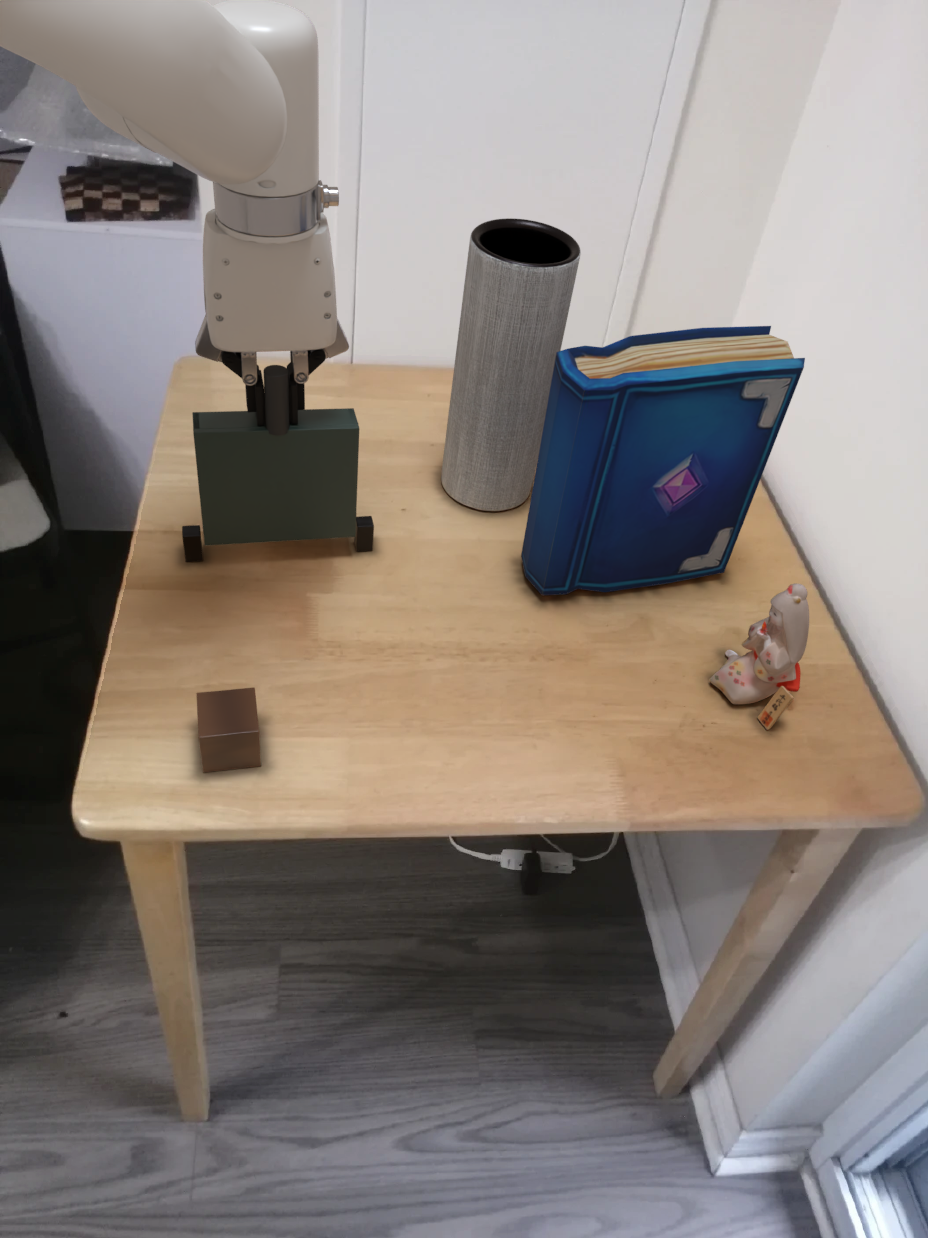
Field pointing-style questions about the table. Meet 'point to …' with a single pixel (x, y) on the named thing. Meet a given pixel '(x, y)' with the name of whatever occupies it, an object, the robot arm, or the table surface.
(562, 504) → the book
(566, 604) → the table surface
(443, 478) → the planter
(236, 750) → the block
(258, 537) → the dustpan
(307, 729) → the table surface
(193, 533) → the pair of dark blocks
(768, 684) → the figurine
